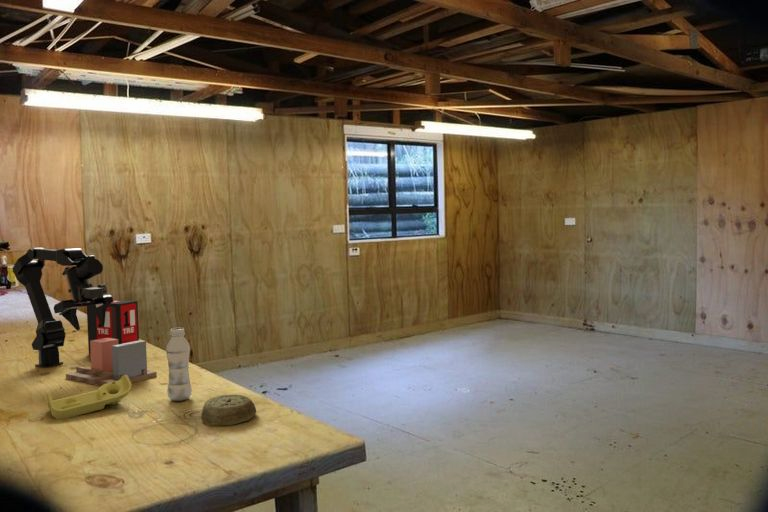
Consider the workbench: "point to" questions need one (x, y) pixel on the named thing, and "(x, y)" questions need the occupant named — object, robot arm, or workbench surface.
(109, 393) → the plastic component
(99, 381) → the wooden pallet
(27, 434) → the workbench surface
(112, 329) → the cleaning product box
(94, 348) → the pink rectangular block
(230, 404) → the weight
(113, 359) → the end stop
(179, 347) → the plastic bottle
